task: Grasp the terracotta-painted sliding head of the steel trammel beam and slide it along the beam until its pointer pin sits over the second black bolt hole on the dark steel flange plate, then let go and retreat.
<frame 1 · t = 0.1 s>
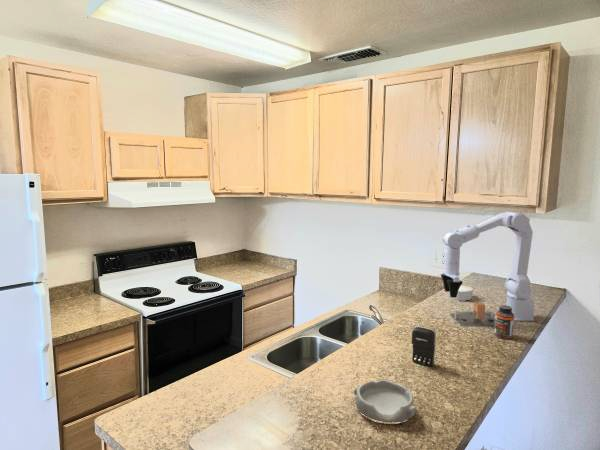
hand: (450, 294, 157), 10 cm above the countertop, tool pointing down, fingers open, 7 cm apart
ramekin: (459, 298, 183), on the countertop
dish: (383, 410, 97), on the countertop
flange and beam: (474, 320, 155), on the countertop
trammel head: (479, 310, 155), point 4 cm above the countertop, slide at 0.0 cm
supplement bottle: (503, 336, 140), on the countertop
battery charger: (422, 363, 120), on the countertop
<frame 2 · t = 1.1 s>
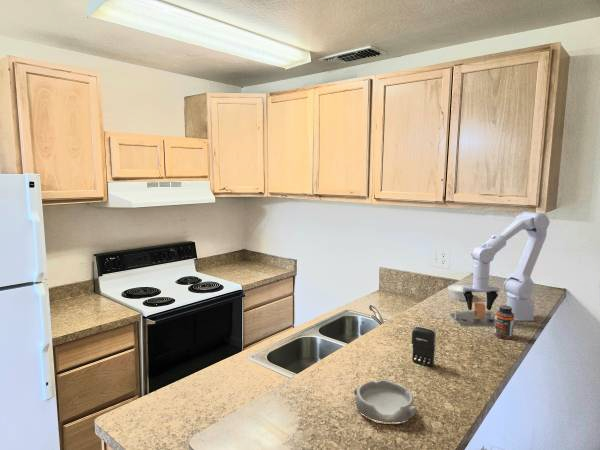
hand: (479, 309, 155), 5 cm above the countertop, tool pointing down, fingers open, 7 cm apart
nothing on the countertop moved.
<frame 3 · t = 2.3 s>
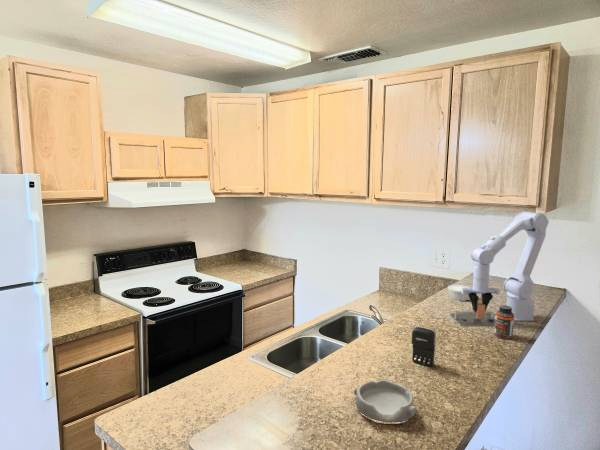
hand: (479, 310, 155), 4 cm above the countertop, tool pointing down, fingers closed on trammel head, 3 cm apart
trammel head: (479, 310, 155), point 4 cm above the countertop, slide at 0.0 cm, touching gripper
everything else where it was.
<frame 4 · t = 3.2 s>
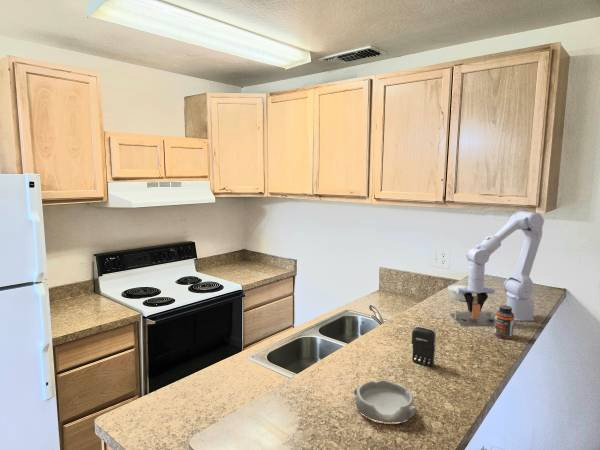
hand: (474, 310, 155), 4 cm above the countertop, tool pointing down, fingers closed on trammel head, 3 cm apart
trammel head: (474, 310, 155), point 4 cm above the countertop, slide at 1.9 cm, touching gripper
everything else where it was.
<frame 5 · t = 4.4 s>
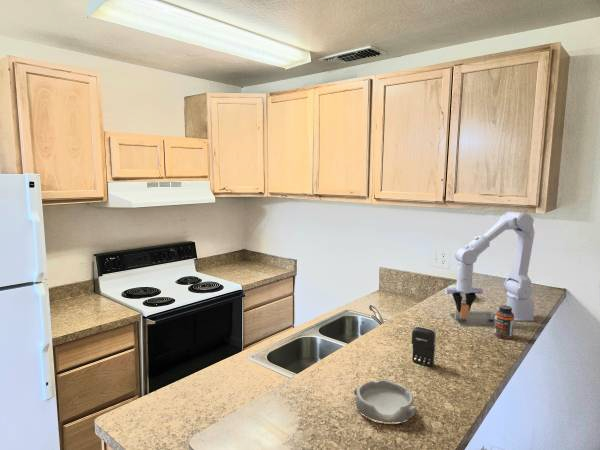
hand: (463, 310, 155), 4 cm above the countertop, tool pointing down, fingers closed on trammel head, 3 cm apart
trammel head: (463, 310, 155), point 4 cm above the countertop, slide at 6.5 cm, touching gripper
everything else where it was.
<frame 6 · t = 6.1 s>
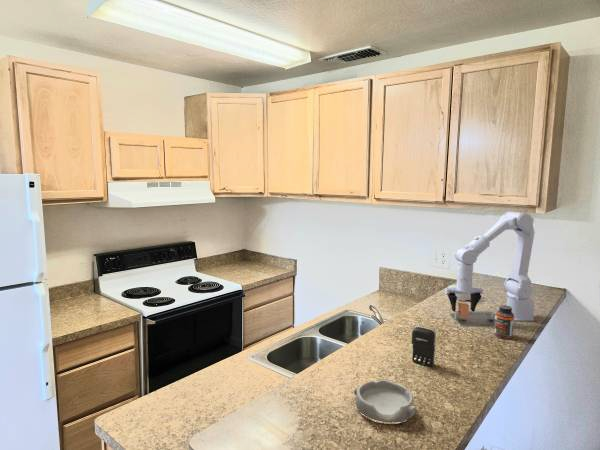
hand: (463, 310, 155), 4 cm above the countertop, tool pointing down, fingers open, 7 cm apart
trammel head: (463, 310, 155), point 4 cm above the countertop, slide at 6.5 cm
everything else where it was.
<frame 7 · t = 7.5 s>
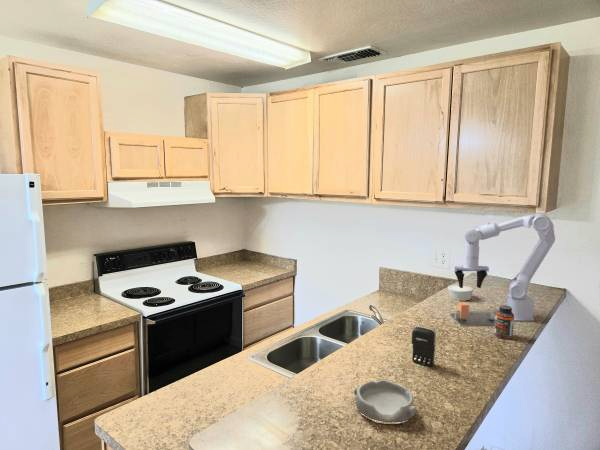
hand: (469, 287, 165), 10 cm above the countertop, tool pointing down, fingers open, 7 cm apart
nothing on the countertop moved.
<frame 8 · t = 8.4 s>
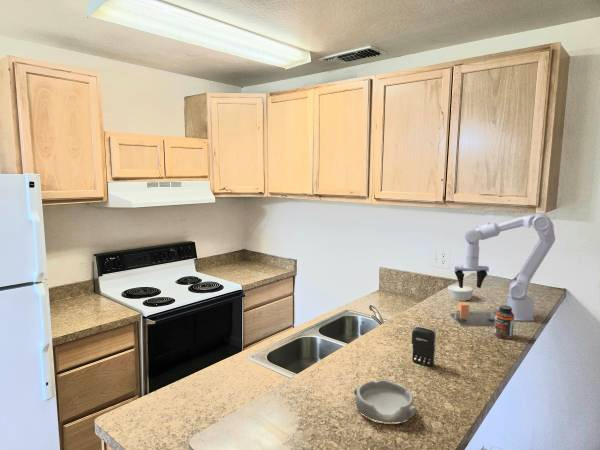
hand: (469, 287, 165), 10 cm above the countertop, tool pointing down, fingers open, 7 cm apart
nothing on the countertop moved.
at the end: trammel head slide at 6.5 cm; the gripper is holding nothing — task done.
